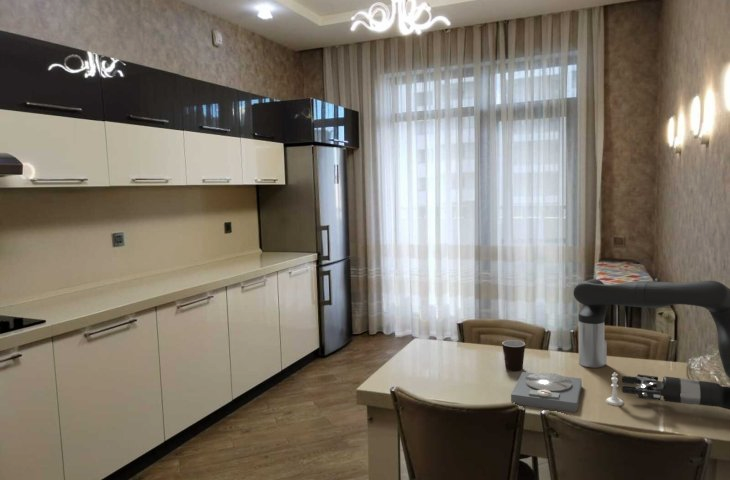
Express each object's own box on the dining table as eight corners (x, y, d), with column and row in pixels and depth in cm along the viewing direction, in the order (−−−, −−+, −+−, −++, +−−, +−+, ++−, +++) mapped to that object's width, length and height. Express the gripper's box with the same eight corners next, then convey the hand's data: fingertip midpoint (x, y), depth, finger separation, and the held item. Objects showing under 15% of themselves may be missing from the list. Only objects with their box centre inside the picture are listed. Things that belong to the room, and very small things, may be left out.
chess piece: (603, 400, 168) (603, 370, 167) (617, 398, 169) (617, 369, 168) (611, 406, 164) (611, 375, 163) (626, 405, 164) (626, 374, 163)
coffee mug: (522, 373, 195) (521, 348, 194) (499, 370, 199) (499, 345, 198) (530, 364, 205) (529, 339, 204) (508, 361, 209) (508, 337, 208)
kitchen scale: (522, 379, 189) (522, 368, 188) (581, 386, 180) (581, 375, 180) (511, 403, 169) (511, 391, 169) (576, 412, 160) (576, 399, 160)
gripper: (679, 370, 163) (621, 365, 171) (683, 387, 151) (622, 380, 158) (678, 393, 164) (621, 387, 171) (683, 411, 151) (621, 403, 159)
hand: (622, 383), depth 165 cm, fingers open, 8 cm apart
